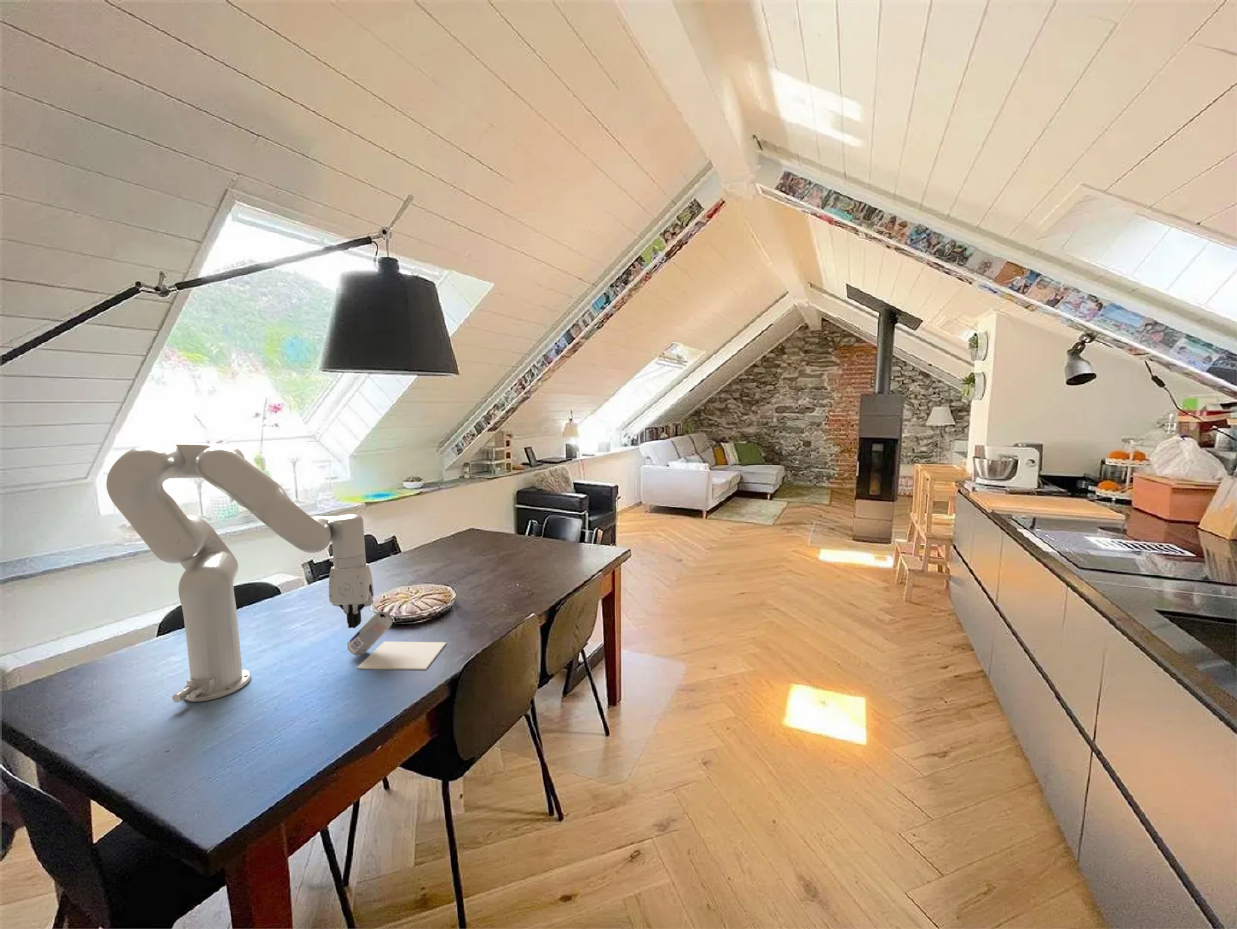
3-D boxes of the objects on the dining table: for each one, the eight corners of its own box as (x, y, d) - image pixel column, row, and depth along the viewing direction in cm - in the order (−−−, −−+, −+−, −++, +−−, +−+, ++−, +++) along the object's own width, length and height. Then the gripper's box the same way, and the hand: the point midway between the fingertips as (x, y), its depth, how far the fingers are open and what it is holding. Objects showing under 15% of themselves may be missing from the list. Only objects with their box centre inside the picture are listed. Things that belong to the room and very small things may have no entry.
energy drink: (362, 641, 135) (390, 611, 134) (366, 656, 132) (395, 627, 131) (344, 640, 131) (373, 609, 130) (349, 656, 128) (378, 625, 127)
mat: (425, 669, 124) (425, 668, 124) (357, 668, 125) (357, 667, 125) (446, 643, 138) (446, 642, 138) (384, 642, 139) (384, 641, 139)
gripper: (313, 565, 125) (318, 632, 127) (370, 565, 125) (374, 632, 127) (330, 556, 133) (335, 619, 135) (384, 556, 132) (388, 620, 135)
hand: (354, 625), depth 131 cm, fingers closed
